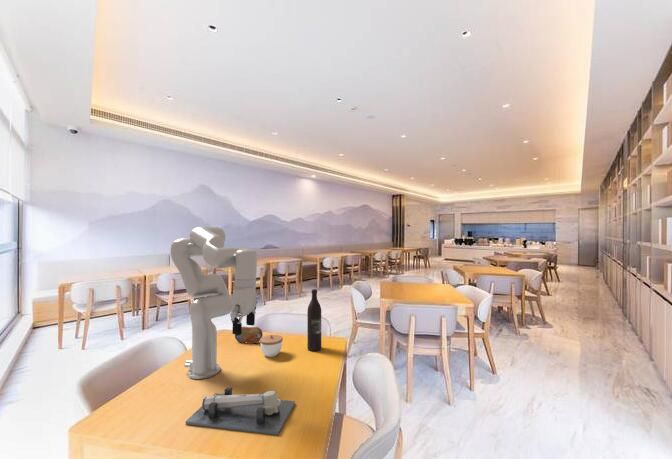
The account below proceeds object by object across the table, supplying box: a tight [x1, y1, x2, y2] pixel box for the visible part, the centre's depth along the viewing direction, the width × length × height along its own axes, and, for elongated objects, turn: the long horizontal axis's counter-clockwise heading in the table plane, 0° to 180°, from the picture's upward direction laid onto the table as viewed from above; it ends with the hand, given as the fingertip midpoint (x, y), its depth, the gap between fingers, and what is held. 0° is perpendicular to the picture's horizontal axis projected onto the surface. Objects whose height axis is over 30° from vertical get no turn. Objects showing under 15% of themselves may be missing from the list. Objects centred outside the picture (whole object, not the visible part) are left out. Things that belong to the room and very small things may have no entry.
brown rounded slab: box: [234, 326, 264, 344], centre depth 159 cm, size 15×3×8 cm, turn 81°
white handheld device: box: [201, 390, 282, 415], centre depth 96 cm, size 5×7×25 cm
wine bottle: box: [306, 288, 322, 352], centre depth 150 cm, size 7×7×30 cm
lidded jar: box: [259, 334, 283, 358], centre depth 143 cm, size 11×11×9 cm
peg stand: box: [185, 387, 296, 437], centre depth 96 cm, size 30×16×5 cm, turn 80°
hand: (243, 329), depth 108 cm, fingers open, 9 cm apart
